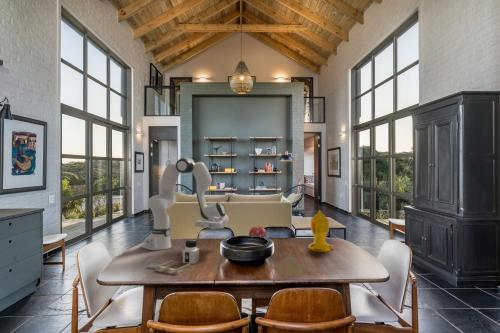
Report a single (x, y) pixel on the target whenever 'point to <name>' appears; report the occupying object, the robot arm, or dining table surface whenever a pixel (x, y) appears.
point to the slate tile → (152, 266)
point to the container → (191, 252)
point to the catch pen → (169, 270)
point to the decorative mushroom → (257, 231)
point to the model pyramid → (290, 267)
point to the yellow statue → (319, 233)
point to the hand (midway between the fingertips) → (202, 226)
